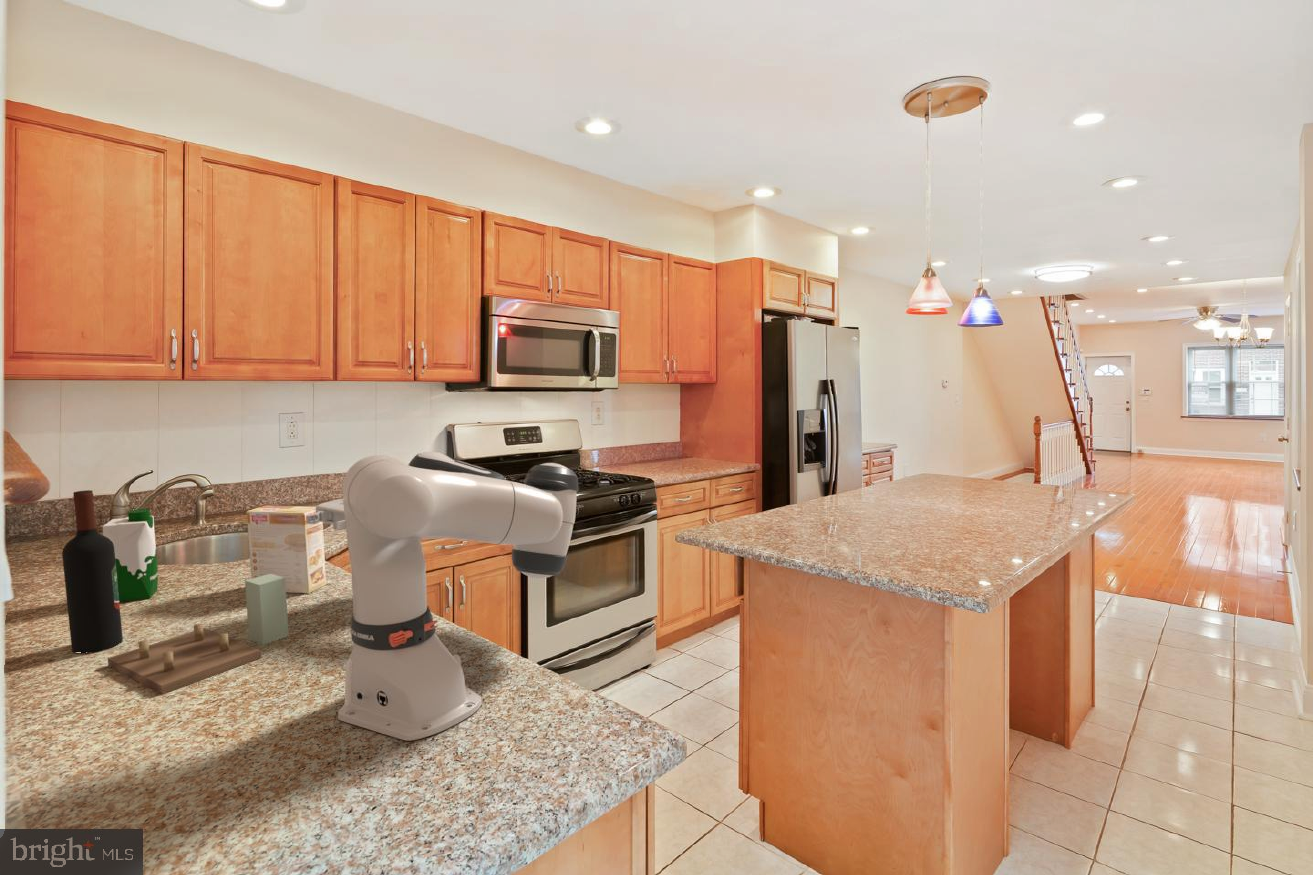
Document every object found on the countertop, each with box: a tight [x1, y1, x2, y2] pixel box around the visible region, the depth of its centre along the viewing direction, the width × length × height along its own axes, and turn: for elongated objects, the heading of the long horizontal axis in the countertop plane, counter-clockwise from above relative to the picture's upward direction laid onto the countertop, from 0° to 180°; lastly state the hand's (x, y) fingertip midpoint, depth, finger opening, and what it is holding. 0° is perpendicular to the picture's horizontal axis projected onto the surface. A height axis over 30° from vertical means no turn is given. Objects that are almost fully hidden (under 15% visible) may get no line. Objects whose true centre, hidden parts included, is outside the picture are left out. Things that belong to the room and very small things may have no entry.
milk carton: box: [102, 508, 159, 603], centre depth 156 cm, size 9×9×20 cm
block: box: [244, 574, 290, 646], centre depth 133 cm, size 5×5×12 cm
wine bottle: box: [61, 489, 124, 654], centre depth 128 cm, size 8×8×30 cm
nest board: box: [107, 623, 262, 695], centre depth 123 cm, size 20×16×4 cm
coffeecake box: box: [246, 505, 327, 594], centre depth 162 cm, size 15×7×20 cm, turn 82°
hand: (321, 523), depth 142 cm, fingers open, 8 cm apart
